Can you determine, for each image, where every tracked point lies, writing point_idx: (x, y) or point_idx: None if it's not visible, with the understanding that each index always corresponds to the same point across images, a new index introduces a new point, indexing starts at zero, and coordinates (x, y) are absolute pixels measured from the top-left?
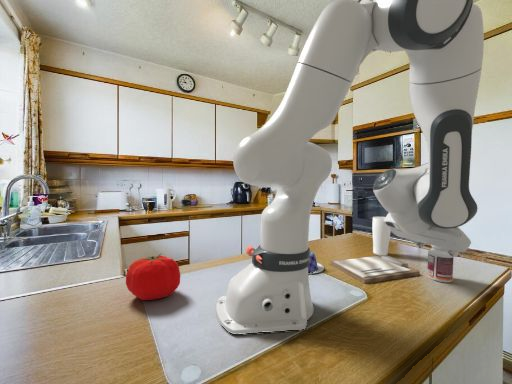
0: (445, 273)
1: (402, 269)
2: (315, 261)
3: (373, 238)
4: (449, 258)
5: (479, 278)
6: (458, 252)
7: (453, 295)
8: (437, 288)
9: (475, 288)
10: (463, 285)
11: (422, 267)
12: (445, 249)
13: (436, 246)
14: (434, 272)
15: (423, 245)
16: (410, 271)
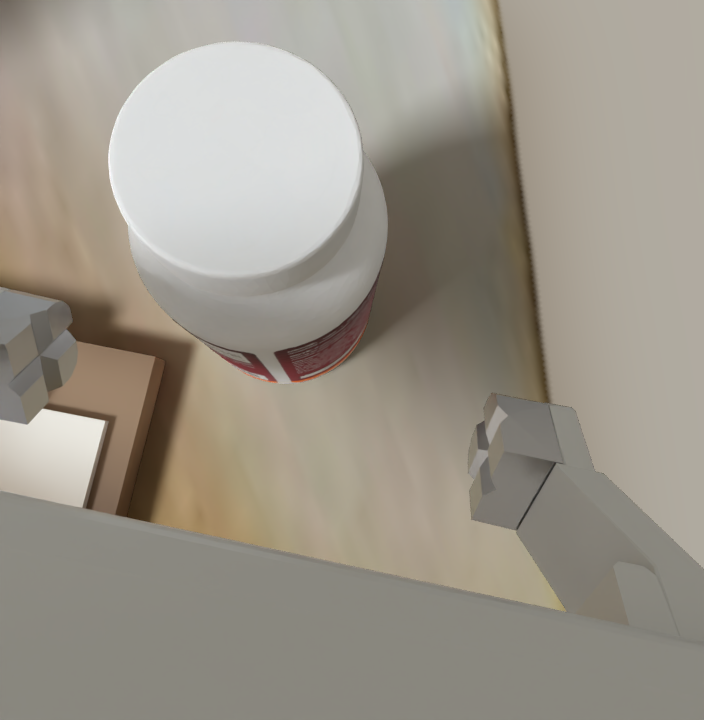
0: (349, 344)
1: (55, 483)
2: None
3: None
4: (375, 282)
5: (430, 32)
6: (571, 422)
7: (472, 544)
8: (363, 520)
9: (491, 264)
10: (430, 279)
11: (102, 156)
12: (333, 253)
13: (228, 289)
14: (278, 378)
15: (62, 331)
16: (114, 441)
